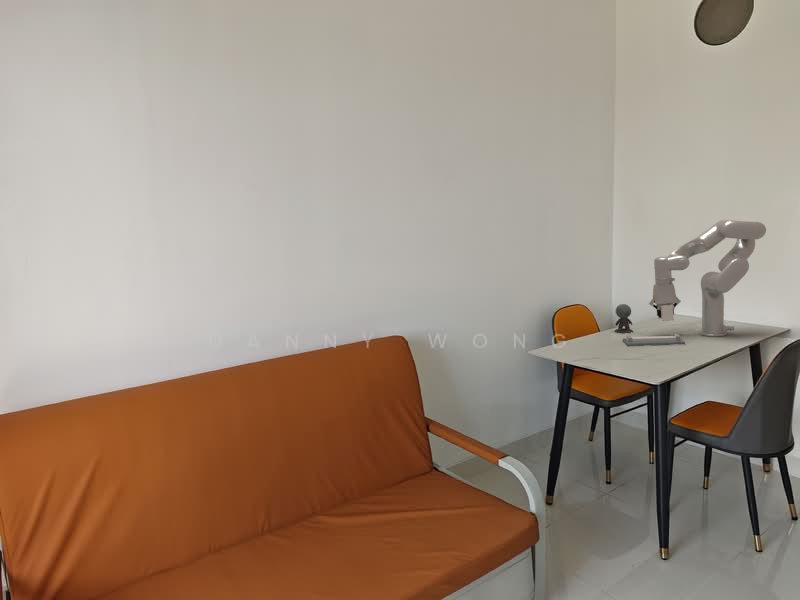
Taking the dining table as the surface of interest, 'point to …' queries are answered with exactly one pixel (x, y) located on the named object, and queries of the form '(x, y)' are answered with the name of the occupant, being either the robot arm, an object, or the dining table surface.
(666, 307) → the block
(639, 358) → the dining table surface
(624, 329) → the figurine
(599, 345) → the dining table surface
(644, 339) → the rail plate
